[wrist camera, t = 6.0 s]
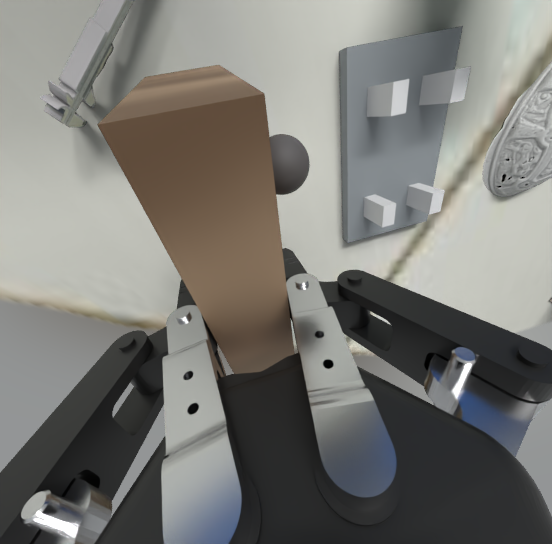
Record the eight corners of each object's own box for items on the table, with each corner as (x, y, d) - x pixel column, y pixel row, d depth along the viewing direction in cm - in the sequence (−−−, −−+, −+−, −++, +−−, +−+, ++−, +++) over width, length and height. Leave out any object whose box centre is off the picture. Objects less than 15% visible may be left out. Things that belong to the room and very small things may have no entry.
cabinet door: (145, 77, 10) (97, 124, 4) (251, 59, 10) (334, 81, 5) (234, 311, 21) (253, 409, 16) (283, 297, 22) (319, 387, 16)
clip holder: (339, 51, 23) (371, 34, 19) (449, 30, 25) (505, 10, 20) (342, 238, 34) (363, 256, 30) (418, 217, 36) (450, 231, 31)
